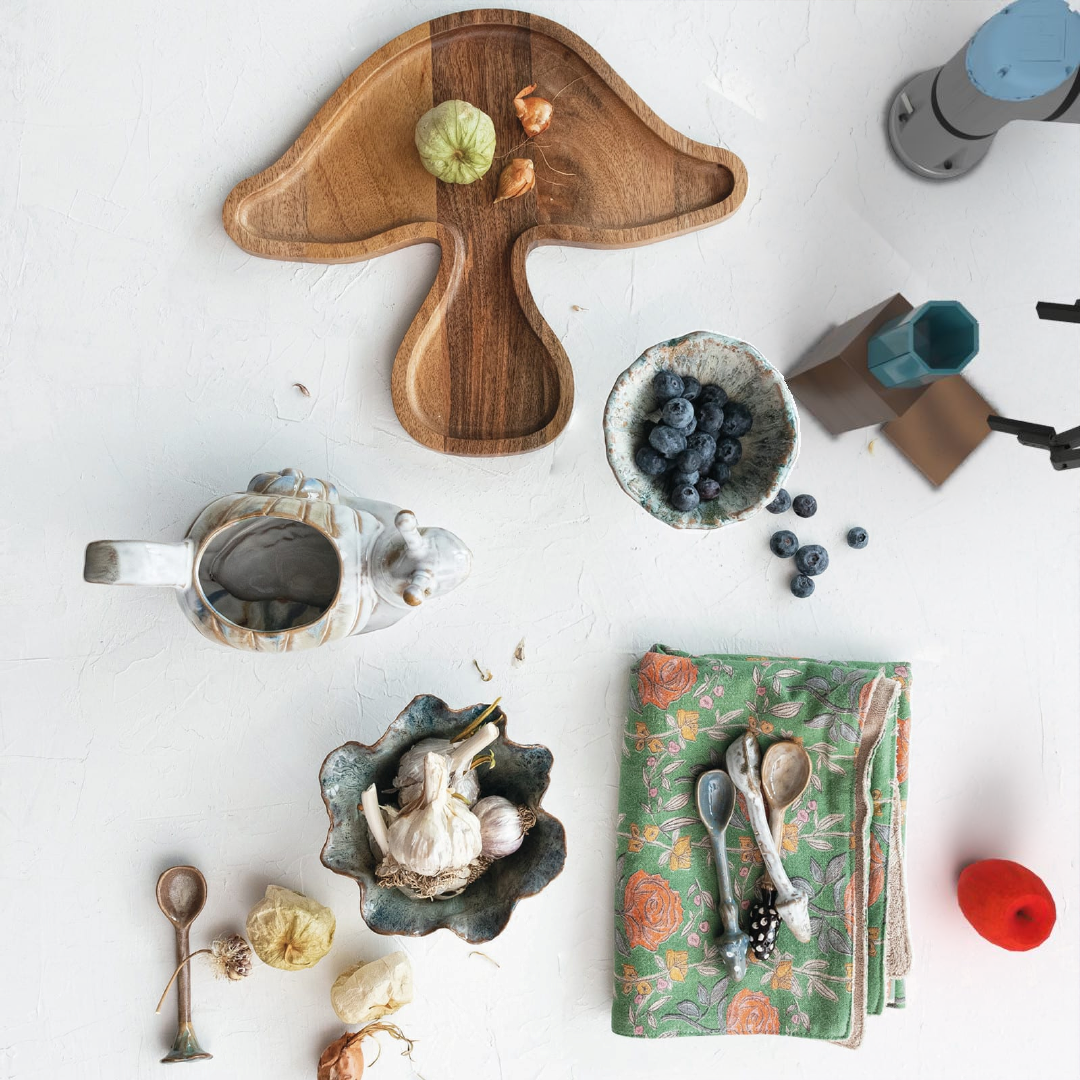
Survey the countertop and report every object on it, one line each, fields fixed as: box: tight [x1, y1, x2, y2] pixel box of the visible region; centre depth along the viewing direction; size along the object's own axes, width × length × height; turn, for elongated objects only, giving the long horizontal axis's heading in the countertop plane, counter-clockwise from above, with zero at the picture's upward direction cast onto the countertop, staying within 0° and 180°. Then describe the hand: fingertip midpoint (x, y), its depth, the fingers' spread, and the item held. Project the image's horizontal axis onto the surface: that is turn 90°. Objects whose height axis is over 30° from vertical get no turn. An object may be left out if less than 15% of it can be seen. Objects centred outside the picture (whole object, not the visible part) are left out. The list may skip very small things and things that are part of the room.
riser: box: [783, 292, 935, 436], centre depth 115 cm, size 11×11×20 cm
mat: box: [879, 373, 1002, 488], centre depth 125 cm, size 14×12×1 cm
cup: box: [868, 299, 980, 389], centre depth 100 cm, size 8×8×10 cm
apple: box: [956, 858, 1057, 953], centre depth 121 cm, size 12×12×13 cm
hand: (1013, 366), depth 94 cm, fingers open, 13 cm apart
